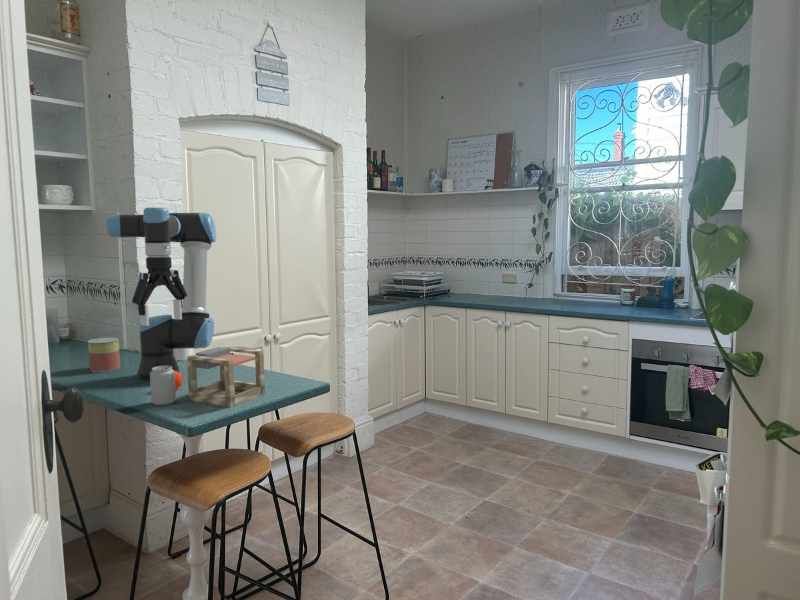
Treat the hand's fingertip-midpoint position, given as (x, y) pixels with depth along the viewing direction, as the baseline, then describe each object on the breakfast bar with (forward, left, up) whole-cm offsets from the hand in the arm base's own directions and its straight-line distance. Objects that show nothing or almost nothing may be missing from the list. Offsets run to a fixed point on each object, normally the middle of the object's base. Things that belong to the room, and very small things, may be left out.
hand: (162, 322), depth 191 cm
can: (0, -1, -27) cm, 27 cm away
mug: (-44, +51, -27) cm, 73 cm away
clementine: (-10, +12, -27) cm, 31 cm away
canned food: (-59, +23, -27) cm, 69 cm away
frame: (+14, +14, -27) cm, 33 cm away
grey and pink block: (+14, +14, -16) cm, 25 cm away
